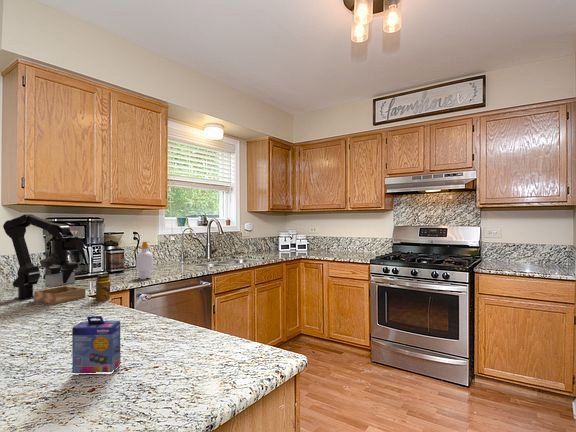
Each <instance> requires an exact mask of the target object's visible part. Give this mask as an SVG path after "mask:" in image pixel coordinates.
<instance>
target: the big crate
mask: <svg viewBox="0 0 576 432" xmlns="http://www.w3.org/2000/svg"><path fill="white" fill-rule="evenodd" d="M33 296H34V298H33V301H34V302H37V303H43V304H48V305H49V304H51V305H57V304H62V303H67V302H72V301H75V300H81V299H85V298H86V287H85V288H84V287H77V286H69V285H63V286H58V287H51V288H47V289H41V290H37V291H33Z"/></svg>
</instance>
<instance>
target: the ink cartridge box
mask: <svg viewBox="0 0 576 432" xmlns="http://www.w3.org/2000/svg"><path fill="white" fill-rule="evenodd" d="M86 318H87V320H86V321H80V322H79V323H77V324H76V325H74V326H72V329H71V330H72V332H71V333H72V335H71V337H72V341H71V343H72V344H71V346H72V351H71V352H72V353H71V354H72V355H71V360H72V361H71V364H72V369H71V370H72V373H96V372H112V371H113V370H115V369H116V368H117V367H118V366H119V365H120V364H121V361H122V360H121V321H120V320H104V319H103V316H102V315H91V316H86ZM93 319H94V320H93ZM95 319H96V320H95ZM72 373H71V374H72Z"/></svg>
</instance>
